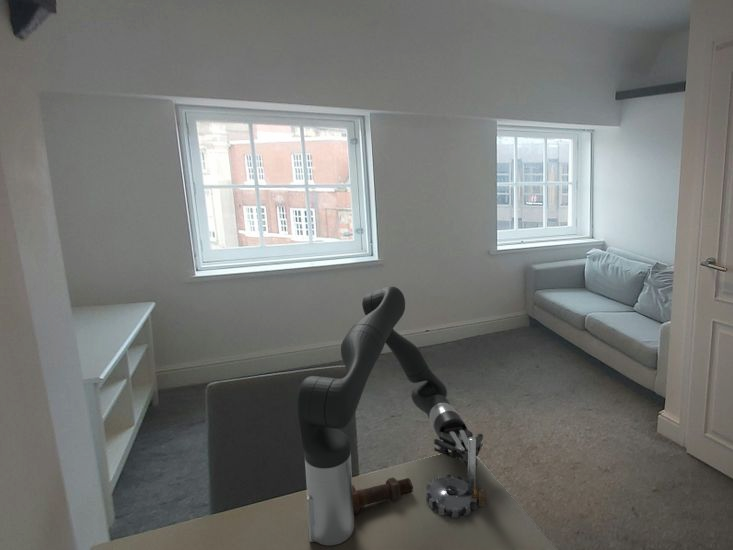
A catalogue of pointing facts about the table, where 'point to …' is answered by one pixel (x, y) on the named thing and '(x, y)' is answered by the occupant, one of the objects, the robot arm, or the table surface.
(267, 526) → the table surface
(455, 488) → the sprocket
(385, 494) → the bolt
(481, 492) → the brown block
